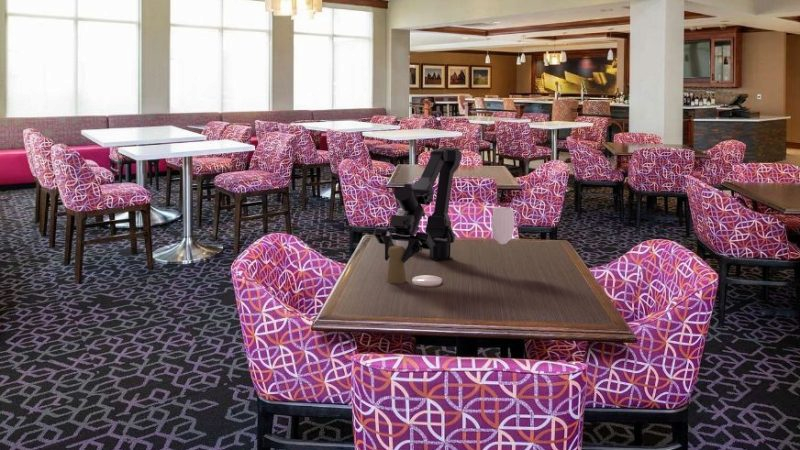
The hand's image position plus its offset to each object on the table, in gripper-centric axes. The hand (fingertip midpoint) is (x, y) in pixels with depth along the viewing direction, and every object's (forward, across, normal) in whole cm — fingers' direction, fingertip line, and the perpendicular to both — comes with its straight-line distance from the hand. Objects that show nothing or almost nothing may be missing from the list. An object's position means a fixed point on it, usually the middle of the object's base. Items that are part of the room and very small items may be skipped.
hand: (394, 261), depth 205 cm
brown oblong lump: (+4, 0, +6) cm, 7 cm away
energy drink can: (-25, -19, +35) cm, 47 cm away
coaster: (+2, +9, +8) cm, 12 cm away
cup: (-15, +25, +25) cm, 38 cm away
